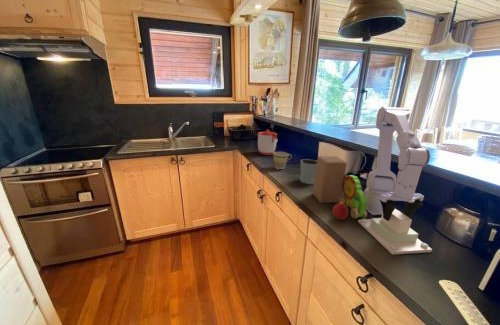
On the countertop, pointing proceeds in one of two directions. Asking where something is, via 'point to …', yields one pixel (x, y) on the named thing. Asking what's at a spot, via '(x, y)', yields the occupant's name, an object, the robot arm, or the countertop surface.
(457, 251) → the countertop surface
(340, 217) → the onion
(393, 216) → the cream brick
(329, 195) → the block
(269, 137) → the citrus juicer
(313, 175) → the grey cylindrical container
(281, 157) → the ceramic cup
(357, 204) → the toy lion
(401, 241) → the white studded slab
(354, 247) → the countertop surface
